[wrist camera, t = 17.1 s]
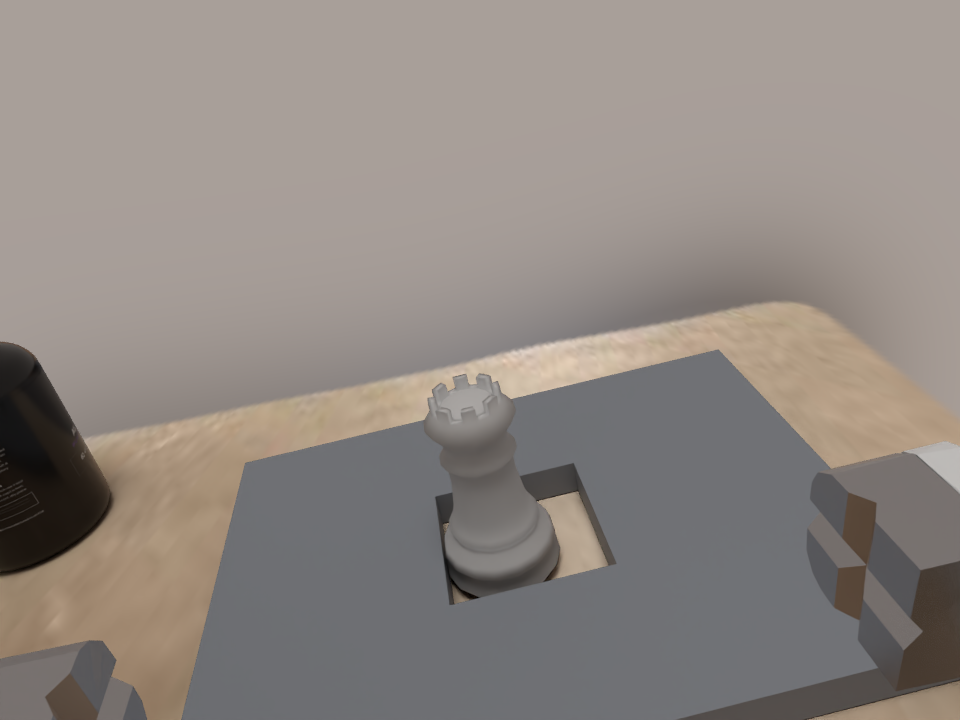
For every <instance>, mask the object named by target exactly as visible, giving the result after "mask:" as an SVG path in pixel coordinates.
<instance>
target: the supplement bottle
mask: <svg viewBox="0 0 960 720" xmlns="http://www.w3.org/2000/svg"><path fill="white" fill-rule="evenodd" d="M109 497H110V490H109V486H108V483H107V481H106V480H105V478H104V476H103V474H102V472H101V470H100V468H99V466H98V465H97V463H96V461H95V459H94V458H93V456H92V454H91V452H90V451H89V449H88V447H87V445H86V444H85V442H84V440H83V438H82V437H81V435H80V433H79V431H78V430H77V428H76V426H75V424H74V423H73V421H72V419H71V417H70V415H69V414H68V412H67V410H66V409H65V407H64V405H63V403H62V401H61V400H60V398H59V396H58V394H57V393H56V391H55V389H54V387H53V386H52V384H51V382H50V380H49V379H48V377H47V375H46V373H45V372H44V370H43V368H42V367H41V365H40V363H39V362H38V360H37V358H36V357H35V356H34V355H33V354H32V353H31V352H30V351H28V350H27V349H25V348H23V347H21V346H19V345H16V344H13V343H8V342H0V572H4V571H12V570H16V569H20V568H24V567H27V566H30V565H33V564H35V563H38V562H40V561H43V560H45V559H47V558H49V557H51V556H53V555H55V554H57V553H58V552H60V551H62V550H64V549H65V548H67V547H68V546H70V545H71V544H73V543H74V542H76V541H77V540H78V539H79V538H81V537H82V536H83V535H84V534H86V533H87V532H88V531H89V530H90V529H91V528H92V527H93V526H94V525H95V524H96V523H97V521H98V520H99V519H100V518H101V516H102V515H103V513H104V511H105V510H106V507H107V505H108V502H109Z"/></svg>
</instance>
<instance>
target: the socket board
mask: <svg viewBox="0 0 960 720" xmlns="http://www.w3.org/2000/svg"><path fill="white" fill-rule="evenodd" d="M511 400H513V403H514V406H515V408H516V412H515V415H514V417H513V420H512V422H511V424H510V426H509V427H508V429H507V432H508V433H509V434H511V435H512V436H513V437H514V438H515V441H516V444H517V447H516V450H515V453H514V456H513V457H514V462H515V466H516V468H517V471H518V473H519V476H520V478H521V481H522V483H523V486H524V488H525V489H526V491H527V492H528V493H530V494H531V495H532V496H533V497H534V498H535V499H536V500H540V499H544V498H548V497H552V496H556V495H561V494H565V493H569V492H573V491H577V490H578V491H579V494H580V496H581V499H582V501H583V503H584V506H585V508H586V511H587V513H588V515H589V518H590V520H591V523H592V525H593V528H594V530H595V532H596V535H597V537H598V540H599V542H600V545H601V547H602V549H603V552H604V554H605V557H606V559H607V562H608V564H609V566H606V567H602V568H598V569H594V570H590V571H586V572H582V573H578V574H574V575H570V576H566V577H562V578H558V579H554V580H550V581H546V582H542V583H538V584H534V585H530V586H526V587H522V588H518V589H514V590H510V591H506V592H501V593H497V594H493V595H489V596H485V597H481V598H477V599H473V600H469V601H465V602H461V603H457V604H454V600H453V593H452V586H451V579H450V575H449V568H448V561H447V559H446V553H445V545H444V538H445V536H444V529H443V523H446V522H449V519H450V516H451V514H452V511H453V505H454V503H453V494H452V484H451V479H450V476H449V472H447V471H446V470H445V469H444V468H443V467H442V466H441V465H440V458H439V455H440V453H441V451H442V448H443V447H442V446H441V445H439V444H438V443H436V442H434V441H433V440H432V439H431V438H430V437H429V436H428V435H427V434H426V433H425V432H424V424H423V422H424V420H423V421H418V422H414V423H410V424H406V425H402V426H398V427H393V428H389V429H385V430H381V431H377V432H373V433H368V434H364V435H360V436H356V437H352V438H347V439H343V440H339V441H335V442H331V443H327V444H322V445H318V446H314V447H310V448H306V449H302V450H297V451H293V452H289V453H285V454H281V455H277V456H272V457H268V458H264V459H260V460H256V461H252V462H247V463H245V466H244V470H243V474H242V478H241V482H240V486H239V490H238V494H237V498H236V502H235V506H234V510H233V514H232V518H231V522H230V526H229V530H228V534H227V538H226V542H225V546H224V550H223V554H222V558H221V562H220V566H219V570H218V574H217V578H216V582H215V586H214V590H213V594H212V598H211V603H210V607H209V611H208V615H207V619H206V623H205V627H204V631H203V635H202V639H201V643H200V647H199V651H198V655H197V659H196V663H195V667H194V671H193V675H192V679H191V683H190V687H189V691H188V695H187V699H186V703H185V707H184V711H183V715H182V719H181V720H805V719H809V718H813V717H816V716H820V715H824V714H828V713H832V712H836V711H840V710H844V709H848V708H851V707H855V706H859V705H863V704H867V703H871V702H875V701H879V700H883V699H887V698H890V697H894V696H898V695H902V694H906V693H910V692H914V691H918V690H922V689H925V688H929V687H933V686H937V685H941V684H945V683H949V682H953V681H957V680H960V678H956V679H951V680H947V681H942V682H937V683H933V684H928V685H923V686H919V687H914V688H910V689H905V690H900V691H895V690H894V688H893V687H892V685H891V684H890V683H889V681H888V680H887V679H886V677H885V676H884V675H883V673H882V672H881V671H880V669H879V668H878V667H877V665H876V664H875V663H874V661H873V660H872V659H871V657H870V656H869V655H868V653H867V652H866V651H865V649H864V648H863V647H862V645H861V644H860V643H859V641H858V625H859V620H857V619H855V618H853V617H851V616H849V615H847V614H845V613H843V612H841V611H839V610H837V609H835V608H834V607H833V606H832V604H831V603H830V602H829V600H828V599H827V597H826V596H825V595H824V593H823V592H822V590H821V589H820V587H819V585H818V583H817V581H816V579H815V577H814V575H813V573H812V569H811V565H810V562H809V558H808V554H807V550H806V547H807V528H808V527H809V525H810V524H811V523H812V522H813V520H814V519H815V518H816V517H817V515H818V514H819V513H820V511H819V510H818V508H817V507H816V506H815V505H814V504H813V502H812V501H811V500H810V493H811V484H812V481H813V479H814V478H815V476H816V474H817V473H818V472H820V471H825V470H829V469H831V468H830V467H829V466H828V465H827V464H826V463H825V462H824V461H823V460H822V459H821V458H820V456H819V455H818V454H817V453H816V452H815V451H814V450H813V449H812V448H811V447H810V446H809V445H808V444H807V443H806V442H805V441H804V440H803V438H802V437H801V436H800V435H799V434H798V433H797V432H796V431H795V430H794V429H793V428H792V427H791V426H790V425H789V424H788V423H787V422H786V421H785V419H784V418H783V417H782V416H781V415H780V414H779V413H778V412H777V411H776V410H775V409H774V408H773V407H772V406H771V405H770V404H769V403H768V401H767V400H766V399H765V398H764V397H763V396H762V395H761V394H760V393H759V392H758V391H757V390H756V389H755V388H754V387H753V386H752V385H751V383H750V382H749V381H748V380H747V379H746V378H745V377H744V376H743V375H742V374H741V373H740V372H739V371H738V370H737V369H736V368H735V367H734V366H733V364H732V363H731V362H730V361H729V360H728V359H727V358H726V357H725V356H724V355H723V354H722V353H721V352H720V351H719V350H715V351H710V352H706V353H702V354H698V355H694V356H689V357H685V358H681V359H677V360H673V361H669V362H664V363H660V364H656V365H652V366H648V367H644V368H639V369H635V370H631V371H627V372H623V373H619V374H614V375H610V376H606V377H602V378H598V379H594V380H589V381H585V382H581V383H577V384H573V385H569V386H564V387H560V388H556V389H552V390H548V391H544V392H539V393H535V394H531V395H527V396H523V397H518V398H514V399H511Z"/></svg>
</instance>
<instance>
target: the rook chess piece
mask: <svg viewBox="0 0 960 720" xmlns="http://www.w3.org/2000/svg"><path fill="white" fill-rule="evenodd" d="M453 380H454V384H455V388H454V389H452V390H450V391H448V392H447V388H446V385H445V384H442V383H440V384H439V385H437V386H436V387H435V388H434V389H432V393H433V396H434V397H431V398H428V405H429V409H430V411H429V413H428V414H427V416H426V418H425V420H424V422H423V424H424V432H425V433H426V434H427V435H428V436H429V437H430V438H431V439H432V440H433V441H434V442H436V443H438V444H439V445H441V446H442V447H443V448H442V451H441V453H440V455H439V458H440V465H441V466H442V467H443V468H444V469H445V470H446V471H447V472H449V476H450V479H451V484H452V494H453V503H454V505H453V511H452V514H451V516H450V519H449V526H448V528H447V531H446V533H445V538H444V545H445V553H446V559H447V561H448V568H449V575H450V577H451V578H452V579H453V580H454V582H455V583H456V584H457V585H458V587H459V588H460V589H462V590H464V591H466V592H468V593H471V594H473V595H475V596H477V597H479V598H481V597H485V596H489V595H493V594H497V593H501V592H506V591H510V590H514V589H518V588H522V587H526V586H530V585H534V584H538V583H542V582H543V581H544V580H545V579H546V578H547V576H548V575H549V574H550V572H551V571H552V570H553V569H554V567H555V566H556V565H557V560H558V556H559V551H560V546H559V543H558V540H557V537H556V534H555V529H554V526H553V523H552V520H551V517H550V515H549V514H548V512H547V511H546V509H545V508H543V507H542V506H541V505H540V504H539V503H538V502H537V501H536V499H535V498H534V497H533V496H532V495H531V494H530V493H528V492H527V491H526V489H525V488H524V486H523V483H522V481H521V478H520V476H519V473H518V471H517V468H516V466H515V462H514V457H513V456H514V453H515V450H516V447H517V444H516V441H515V438H514V437H513V436H512V435H511V434H509V433H508V432H507V429H508V427H509V426H510V424H511V422H512V420H513V417H514V415H515V412H516V408H515V406H514V403H513V400H511V399H510V398H508V397H507V396H506V395H504V394H503V393H501V390H500V386H499V383H498V381H496V382H493V383H492V381H491V376H489V375H485V374H480V373H479V374H478V376H477V377H476V381H477V384H474V385H469V383H468V379H467V375H466V374H463V375H459V376H455V377H453Z"/></svg>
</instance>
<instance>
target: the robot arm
mask: <svg viewBox="0 0 960 720" xmlns="http://www.w3.org/2000/svg"><path fill="white" fill-rule="evenodd" d="M810 500H811V501H812V502H813V504H814V505H815V506H816V507H817V508H818V510H819V511H820V513H819V514H818V515H817V517H816V518H815V519H814V520H813V522H812V523H811V524H810V525H809V527H808V528H807V547H806V550H807V554H808V558H809V562H810V565H811V569H812V573H813V575H814V577H815V579H816V581H817V583H818V585H819V587H820V589H821V590H822V592H823V593H824V595H825V596H826V597H827V599H828V600H829V602H830V603H831V604H832V606H833V607H834V608H835V609H837V610H839V611H841V612H843V613H845V614H847V615H849V616H851V617H853V618H855V619H857V620H859V625H858V641H859V643H860V644H861V645H862V647H863V648H864V649H865V651H866V652H867V653H868V655H869V656H870V657H871V659H872V660H873V661H874V663H875V664H876V665H877V667H878V668H879V669H880V671H881V672H882V673H883V675H884V676H885V677H886V679H887V680H888V681H889V683H890V684H891V685H892V687H893V688H894V690H895V691H900V690H905V689H910V688H914V687H919V686H923V685H928V684H933V683H937V682H942V681H947V680H951V679H956V678H960V446H958V445H956V444H953V443H950V442H947V441H944V442H940V443H936V444H932V445H928V446H924V447H919V448H915V449H911V450H907V451H903V452H902V453H895V454H891V455H887V456H883V457H879V458H875V459H870V460H866V461H862V462H858V463H854V464H850V465H845V466H841V467H837V468H833V469H829V470H825V471H820V472H818V473H817V474H816V476H815V478H814V479H813V481H812V484H811V493H810ZM115 663H116V659H115V658H114V656H113V655H112V653H111V652H110V651H109V649H108V648H107V646H106V645H105V644H104V642H103V641H85V642H80V643H75V644H70V645H65V646H60V647H56V648H51V649H46V650H41V651H36V652H31V653H26V654H21V655H17V656H12V657H7V658H2V659H0V720H147V717H146V714H145V710H144V707H143V704H142V700H141V699H140V697H139V695H138V694H137V692H136V690H135V689H134V687H133V686H132V685H129V684H127V683H125V682H123V681H120V680H118V679H116V678H113V677H111V675H112V672H113V669H114V666H115Z"/></svg>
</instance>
